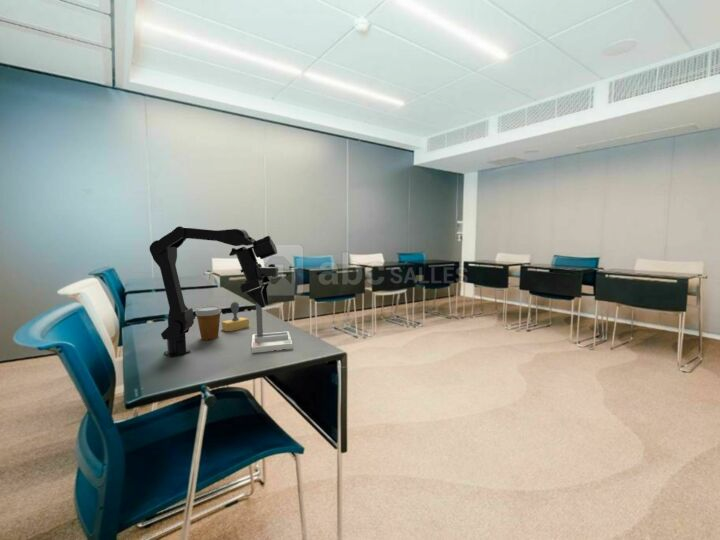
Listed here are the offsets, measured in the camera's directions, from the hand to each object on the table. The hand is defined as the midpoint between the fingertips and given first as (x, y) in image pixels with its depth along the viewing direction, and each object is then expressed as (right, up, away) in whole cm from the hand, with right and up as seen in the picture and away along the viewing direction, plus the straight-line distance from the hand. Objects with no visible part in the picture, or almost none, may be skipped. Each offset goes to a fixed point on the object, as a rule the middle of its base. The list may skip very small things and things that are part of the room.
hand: (265, 305), depth 116 cm
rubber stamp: (-22, -14, +31) cm, 40 cm away
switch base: (0, -15, +9) cm, 18 cm away
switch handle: (-4, -13, +8) cm, 16 cm away
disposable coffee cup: (-27, -15, +18) cm, 36 cm away
